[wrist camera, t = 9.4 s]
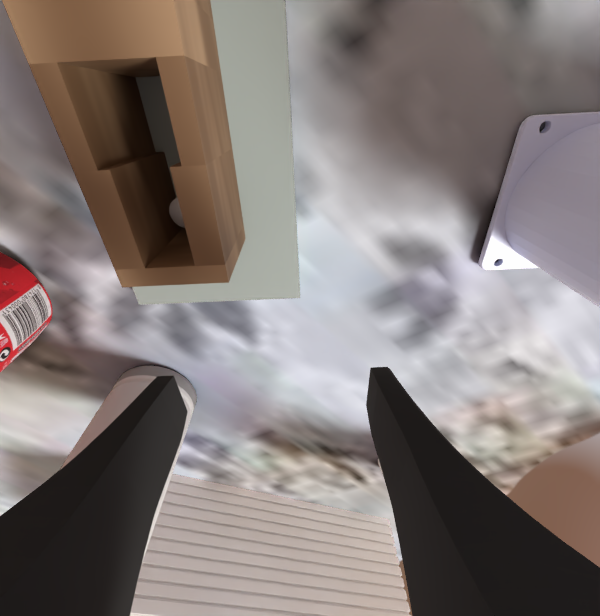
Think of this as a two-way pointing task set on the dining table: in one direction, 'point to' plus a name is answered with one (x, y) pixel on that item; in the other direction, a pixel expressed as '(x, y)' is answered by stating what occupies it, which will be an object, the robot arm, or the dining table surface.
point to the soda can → (20, 309)
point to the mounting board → (244, 154)
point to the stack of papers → (265, 557)
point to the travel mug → (122, 398)
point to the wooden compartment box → (141, 130)
